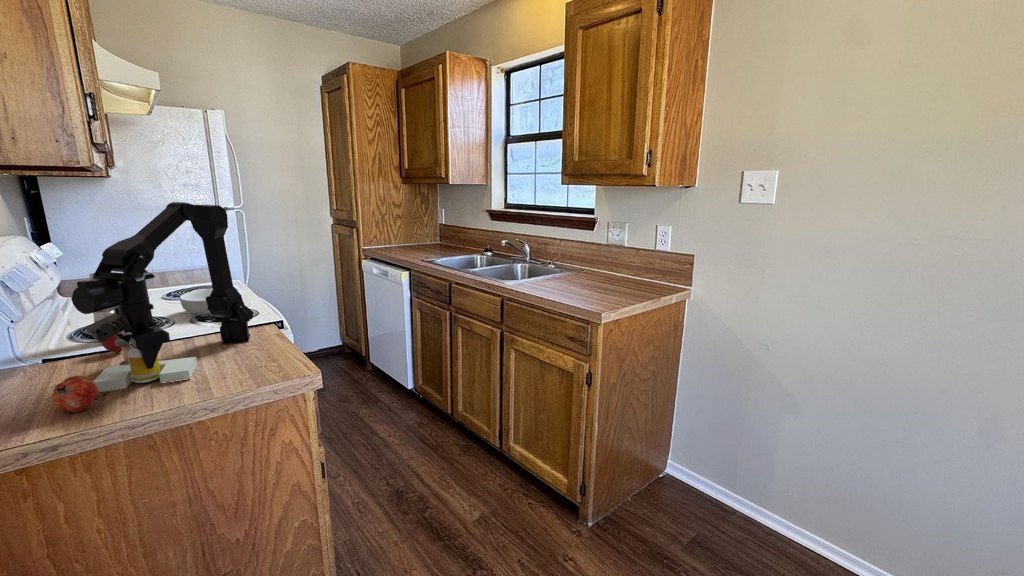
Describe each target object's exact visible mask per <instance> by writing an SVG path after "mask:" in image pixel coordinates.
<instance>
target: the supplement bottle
mask: <svg viewBox="0 0 1024 576" xmlns="http://www.w3.org/2000/svg"><path fill="white" fill-rule="evenodd" d="M129 344H132V343H131V340H130V341H129ZM130 348H132V349H131V350H129V351H128V360H129V365H130V370H131V375H132V380H133V381H132V382H133V383H136V384H143V383H144V384H145V383H149V382H152V381H155V380H157V379H160V377H159V374H160V372H161V371H160V365H159V361H160V360H159V356H157V358H156V361H155V363H154V366H153V368H150V369H147V368H146V366H145V364H144V361H143V359H142V356H141V354H140V352H139V350H138V349H135V348H133V347H132V346H130Z"/></svg>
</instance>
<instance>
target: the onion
mask: <svg viewBox="0 0 1024 576" xmlns="http://www.w3.org/2000/svg"><path fill="white" fill-rule="evenodd" d="M118 334H120V333H118ZM116 335H117V334H116ZM116 335H114V336H112V337H110V338H108V340H106V341H104V342H100V343H101V345H102V347H103V348H104V349H105V350H107V351H109V352H112V353H116V354H120V353H123V351H122V347H120V346H116V345H115V340H117V339H119V338H118V337H117V336H116Z"/></svg>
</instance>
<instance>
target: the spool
mask: <svg viewBox="0 0 1024 576" xmlns="http://www.w3.org/2000/svg"><path fill="white" fill-rule="evenodd" d="M115 345H116V346H120V347H122V355H123V361H121V362H120V363H119V365H118V366H122V365H129V360H128V351H129V350H131V349H130V347H129V345H128V343H127V342H126V341H124V340H122V339H120V338H119V339H117V340H115Z"/></svg>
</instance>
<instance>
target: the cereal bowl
mask: <svg viewBox="0 0 1024 576" xmlns="http://www.w3.org/2000/svg"><path fill="white" fill-rule="evenodd" d="M212 290H213V287H211V288H204V289H197V290H193V291H189V292H186V293H183V294H181V295H180V297H179V301H180V304H181V307H182V308H183V310H185V311H186V312H188V313H189V314H194V315H198V316H199V317H200V316H201V317H210V316H209V315H211V313H210V311H209V310H207V308H208V306H207V302H206V297H207V296H210V294H211V292H212Z"/></svg>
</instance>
